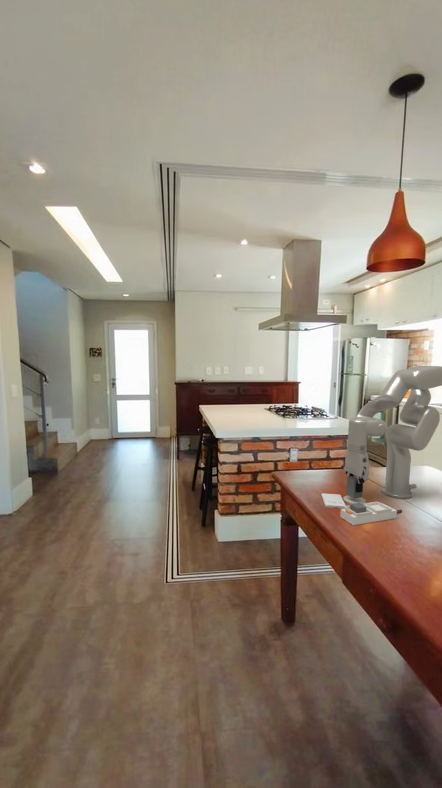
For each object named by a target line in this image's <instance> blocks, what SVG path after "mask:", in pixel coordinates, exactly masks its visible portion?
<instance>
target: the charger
mask: <svg viewBox="0 0 442 788" xmlns="http://www.w3.org/2000/svg"><path fill="white" fill-rule="evenodd" d="M360 479H361V477H360ZM356 483H357V476H356V475H354V476H347V475H346V496H350V497H352V498H363V492H358V493H357V492H356Z"/></svg>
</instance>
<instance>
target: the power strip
mask: <svg viewBox="0 0 442 788" xmlns="http://www.w3.org/2000/svg"><path fill="white" fill-rule="evenodd" d="M400 513H403V510H402V509H394V507H393V508H392V507H391V506H389V505H386V504H385V503H382V502H379V501H372V502H366V503H364V504H360V503H354V504H350V503H349V505H346V506H344V509H343V508H340V516H339V517H340V518H341V519H343V520H344V521H346V522H347V523H349V524H350V525H352V526H357V525H364V524H369V523H375V522H381V521H386V520H387V521H388V520H393V519H397V514H400Z"/></svg>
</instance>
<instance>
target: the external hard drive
mask: <svg viewBox="0 0 442 788" xmlns="http://www.w3.org/2000/svg"><path fill="white" fill-rule="evenodd" d="M321 499H322V501H323V505H324V507H325V508H329V509H331V508H333V509H344V506H347V505H346V502H345V501H344V500H343V497H342V495H341V494H339V493H337V494H336V493H325V492H323V493H321Z"/></svg>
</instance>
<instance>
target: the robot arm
mask: <svg viewBox="0 0 442 788" xmlns="http://www.w3.org/2000/svg"><path fill="white" fill-rule="evenodd" d="M437 387H442V365H441V366H440V365H417V366H412V367H410V368H409V369H405V368H404V369H400V370H399V369H398V370H397V371H396V372H394V373H393V375H392V377H391V378H390V379H389V381H388V383H387V384H386V386H385V388H384V389H383V390H382V392H381V393H380V394H379V395H378V396H377V397H374V398H373V399H372V400H370V401H368V402H367V403H365V405H363V407H362V408H360V410H359V412H358V413H357V415H356V417H354V418H350V420H349V421H348V432H347V433H348V435H347V450H346V453H345V458H344V467H343V470H344V472H345V475H346V477H347V476H357V483H356V492H357V493H358V492H363V491H364V483H365V482H366V481H369V480H370V477H369V474H370V461H369V460H370V459H369V453H368V448H367V447H368V437H382V436H384V435H385V439H386V441H385V442H386V451H387V452H386V469H385V485H384V486H382V487H381V489H380V490H381V492H382V493H383V494H384V495H386V496H388V497H392V498H395V499H410V498H412V497H413V494H414V493H413V492H412V491H411V490H412V489H417V484H416V483H413V484H410V476H411V462H412V457H411V456H412V455H411V452H410V450H413V451H417V452H419V451H423V450H424V449H426V448H427V446H428V445H429V443H430V441H431V439H432V438H433V436H434V433H435V432H436V430H437V428H438V426H439V423H440V418H441V415H440V412H439V410H438V409H437V408H435V407H434V406H430V405H429V404H430V402H431V400H432V395H431V391H430V389H433V388H437ZM409 391H410V393H409ZM407 393H409V396H408V398H407V399H406V401H405V403H404V405H403V407H402V409H401V411H400V413H399V420H400V422H402V423H403V424H402V423H401V424H400V423H394V424H391V425H389V426H388V424H387V423H386V421H384V420H382V419H381V418H376V417H374V416H376V415H377V414H379V413H381V412H382V411H383V412H384V411H387V410H390V409H394V408H396V407H398V406H399V405H401V403H402V401H403V400H404V398H405V397H406V395H407ZM409 425H410V426H409ZM360 478H361V479H360Z"/></svg>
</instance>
